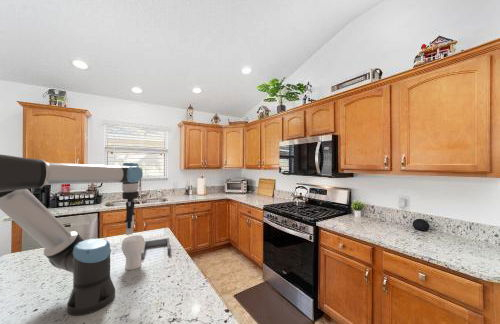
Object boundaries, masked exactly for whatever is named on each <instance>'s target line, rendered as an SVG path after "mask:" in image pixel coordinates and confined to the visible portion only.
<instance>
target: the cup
mask: <svg viewBox="0 0 500 324" xmlns="http://www.w3.org/2000/svg"><path fill="white" fill-rule="evenodd" d="M145 241H146V240H145V237H144V236H143V235H141V234H140V235H139V234H138V235H129V236H127V237H124V238H123V240H122V242H121V251H122V254H123V255H124V257H125V265H124V269H125V270H126V271H131V270H136V269H138V268H141V266H142V260H141V253H142V251H143V249H144V245H145Z"/></svg>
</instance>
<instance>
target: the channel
mask: <svg viewBox="0 0 500 324" xmlns="http://www.w3.org/2000/svg"><path fill="white" fill-rule="evenodd" d="M144 241H145V245H144V249H143V251H142V253H141V261H142V260H144V259H145V253H146V249H147V248H152V247H154V248H155V247H160V246H167V256H170V255H171V247H170V246H171V245H170V242H171V241H170V237H166V238H160V239H151V240H144Z"/></svg>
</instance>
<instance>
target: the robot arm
mask: <svg viewBox="0 0 500 324" xmlns="http://www.w3.org/2000/svg"><path fill="white" fill-rule="evenodd" d="M143 175H144V174H143V170H142V169H141V168H140V167H139V163H137V162H123V163H122V165H108V164H107V165H105V164H84V163H83V164H82V163H63V162H62V163H61V162H47V161H45V160H44V159H42V158H41V159H40V158H27V157H22V156H21V157H20V156H14V155H9V154H8V155H6V154H0V211H2V212H3V213H4V214H5V215H6V216H8V217H9V218H10V219H11V220H12V221H13V222H14V223H15V224H16V225H18V226H19V227H20V228H21V229H22V230H24V231H25V233H27V234H28V235H29V236H30V237H31V238H32V239H34V240H35V241H36V242H37V243H39V244H40V246H41V247H43V248H44V251H43V255H44V256H45V257H46V258H47V259H48V262H49V263H50V264H51V265H52V266H53V267H55V268H57V269H59V270H64V271H67V272H69V273H72V275H73V279H72V280H73V282H72V284H73V286H72V287H73V288H72V290H71V293H70V295H69V297H68V301H67V304H66V312H67V313H68V315H71V316H82V315H87V314H91V313H94V312H96V311H98V310H99V311H100V310H101V309H102V308H105V307H106V306H107V305H109V304H110V303H111V302H112V301H114V299H115V298H116V288H115V285H114V283H113V280H112V278H111V252H112V249H111V244H110V242H109V240H107V239H105V238H87V239H84V238H83V237H81V235H80V234H79V233H78V232H77V231H75V230H72V231H70V230H69V229H67V228H66V226H64V224H63V223H61V222H60V220H59V219H58V218H57V217H56V216H55V215H54V214H52V213H53V212H50V210H49V209H48V208H47V207H46V206H45V205H44V204H43V203H42V202H41V201H40V200H39V199H38V198H37V197H36V196H35V195H34V194H33V192H31V191H30V190H29V189H31V190H32V189H42V188H43V187H44V186H49V185H50V186H52V185H53V186H54V185H79V184H80V185H81V184H82V185H83V184H87V185H88V184H110V183H111V184H113V183H116V184H117V183H119V184H120V183H122V185H121V187H122V189H121V190H122V194H121V196H122V198H121V199H122V200H127V201H126V202H125V206H126V207H125V210H126V214H125V215H126V217H125V220H124V223H125V235H126V236H132V235H133V228H135V215H136V213H135V203H136V202H135V201H134V200H136V199H138V198H139V187H140V184H139V182H140V181H141V180H142V178H143Z"/></svg>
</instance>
